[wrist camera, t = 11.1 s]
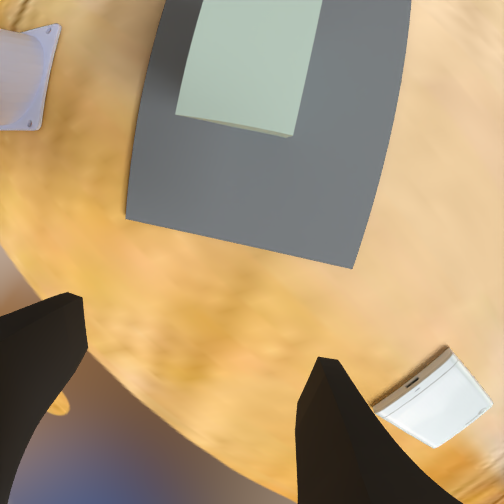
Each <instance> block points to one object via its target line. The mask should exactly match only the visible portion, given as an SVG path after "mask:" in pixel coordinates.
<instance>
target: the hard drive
mask: <svg viewBox="0 0 504 504" xmlns="http://www.w3.org/2000/svg"><path fill="white" fill-rule="evenodd" d="M492 405H493V401H492V400H491V398H490V397H489V395H488V394H487V393H486V391H485V390H484V389H483V387H482V386H481V385H480V384H479V382H478V381H477V380H476V379H475V377H474V376H473V375H472V374H471V372H470V371H469V370H468V369H467V368H466V366H465V365H464V364H463V363H462V362H461V360H460V359H459V358H458V357H457V356H456V355H455V353H454V352H453V351H452V350H451V349H450V348H448V349H447V350H445V351H444V352H443V353H442V354H441V355H440V356H439V357H437V358H436V359H435V360H434V361H433V362H432V363H430V364H429V365H428V366H427V367H425V368H424V369H423V370H422V371H421V372H419V373H418V374H417V375H416V376H414V377H413V378H412V379H410V380H409V381H408V382H406V383H405V384H404V385H403V386H401V387H400V388H399V389H397V390H396V391H394V392H393V393H392V394H390V395H389V396H388V397H386V398H385V399H383V400H382V401H380V402H379V403H377V404H376V405H374V406H373V410H374V413H375V414H377V415H378V416H380V417H382V418H383V419H385V420H386V421H388V422H390V423H391V424H393V425H395V426H396V427H398V428H399V429H401V430H403V431H404V432H406V433H408V434H409V435H411V436H413V437H414V438H416V439H418V440H420V441H421V442H423V443H425V444H426V445H428V446H430V447H432V448H437V447H439V446H440V445H442V444H443V443H445V442H446V441H448V440H449V439H451V438H452V437H453V436H455V435H456V434H458V433H459V432H460V431H462V430H463V429H464V428H466V427H467V426H468V425H470V424H471V423H472V422H474V421H475V420H476V419H477V418H479V417H480V416H481V415H482V414H484V413H485V412H486V411H487V410H488V409H489V408H491V406H492Z"/></svg>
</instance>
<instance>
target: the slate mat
mask: <svg viewBox="0 0 504 504" xmlns="http://www.w3.org/2000/svg"><path fill="white" fill-rule="evenodd" d="M202 3H203V0H166V3H165V6H164V9H163V13H162V16H161V19H160V23H159V26H158V30H157V33H156V37H155V41H154V44H153V48H152V52H151V56H150V60H149V65H148V69H147V73H146V78H145V83H144V87H143V92H142V97H141V102H140V108H139V113H138V119H137V125H136V131H135V138H134V144H133V152H132V159H131V167H130V176H129V185H128V195H127V207H126V219H129V220H133V221H138V222H142V223H147V224H152V225H156V226H161V227H165V228H170V229H174V230H179V231H183V232H188V233H193V234H197V235H202V236H206V237H211V238H215V239H220V240H224V241H229V242H233V243H238V244H242V245H247V246H251V247H256V248H260V249H265V250H269V251H274V252H278V253H283V254H287V255H292V256H296V257H301V258H305V259H309V260H314V261H318V262H323V263H327V264H332V265H336V266H340V267H345V268H349V269H353V266H354V263H355V260H356V257H357V254H358V251H359V248H360V245H361V241H362V238H363V235H364V232H365V229H366V225H367V222H368V219H369V215H370V212H371V209H372V205H373V202H374V198H375V195H376V191H377V187H378V184H379V180H380V176H381V172H382V168H383V164H384V160H385V156H386V152H387V148H388V144H389V139H390V135H391V130H392V126H393V121H394V116H395V111H396V106H397V101H398V96H399V90H400V85H401V79H402V73H403V67H404V60H405V53H406V46H407V38H408V30H409V21H410V10H411V0H322V5H321V10H320V14H319V19H318V24H317V29H316V33H315V38H314V43H313V47H312V52H311V57H310V61H309V66H308V71H307V75H306V80H305V84H304V89H303V93H302V98H301V102H300V107H299V111H298V116H297V120H296V125H295V129H294V133H293V136H291V137H288V138H284V137H279V136H275V135H270V134H265V133H261V132H256V131H251V130H246V129H240V128H235V127H230V126H226V125H221V124H217V123H213V122H208V121H204V120H199V119H195V118H190V117H185V116H180V115H175V113H176V108H177V103H178V98H179V93H180V88H181V84H182V79H183V75H184V71H185V66H186V62H187V58H188V54H189V50H190V46H191V42H192V39H193V35H194V31H195V28H196V24H197V20H198V17H199V14H200V10H201V7H202Z"/></svg>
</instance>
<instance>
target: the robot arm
mask: <svg viewBox="0 0 504 504" xmlns="http://www.w3.org/2000/svg"><path fill="white" fill-rule="evenodd" d="M50 30H51V31H50ZM49 32H50V33H49ZM60 32H61V25H59V24H52V25H48V26H43V27H39V28H36V29H32V30H28V31H25V32H21V33H18V32H13V31H9V30H4V29H0V130H31V131H34V130H39V129H40V127H41V124H42V117H43V110H44V104H45V97H46V92H47V86H48V81H49V76H50V71H51V67H52V62H53V58H54V54H55V50H56V46H57V42H58V39H59V35H60ZM31 121H32V125H31ZM87 349H88V343H87V336H86V328H85V319H84V309H83V298H82V297H80V296H77V295H74V294H71V293H69V292H66V293H63V294H59V295H56V296H53V297H51V298H48V299H45V300H43V301H40V302H38V303H35V304H32V305H30V306H27V307H25V308H22V309H19V310H17V311H14V312H12V313H9V314H6V315H4V316H1V317H0V504H7V503H8V499H9V495H10V491H11V487H12V484H13V481H14V478H15V474H16V472H17V469H18V466H19V464H20V461H21V458H22V456H23V454H24V451H25V449H26V447H27V445H28V443H29V441H30V439H31V436H32V435H33V432H34V430H35V429H36V427H37V425H38V424H39V422H40V420H41V419H42V417H43V416H44V414H45V413H46V411H47V410H48V409H49V407H50V406H51V404H52V403H53V402H54V400H55V399H56V398H57V396H58V395H59V393H60V392H61V391H62V389H63V388H64V386H65V385H66V384H67V382H68V381H69V380H70V378H71V377H72V375H73V374H74V373H75V371H76V369H77V367H78V366H79V364H80V362H81V360H82V358H83V357H84V355H85V353H86V351H87ZM295 440H296V462H297V484H298V504H463V503H461V502H460V501H458V500H457V499H456V498H454V497H453V496H452V495H450V494H449V493H448V492H446V491H445V490H444V489H443V488H441V487H440V486H439V485H438V484H437V483H436V482H434V481H433V480H432V479H431V478H430V477H429V476H427V475H426V474H425V473H424V472H423V471H422V470H421V469H420V468H419V467H418V466H417V465H416V464H415V463H414V462H413V461H412V460H411V458H410V457H409V456H408V455H407V454H406V453H405V452H404V451H403V450H402V449H401V448H400V446H399V445H398V444H397V443H396V442H395V441H394V439H393V438H392V437H391V435H390V434H389V433H388V432H387V430H386V429H385V428H384V427H383V425H382V424H381V423H380V421H379V420H378V419H377V417H376V416H375V414H374V413H373V412H372V410H371V409H370V407H369V406H368V404H367V403H366V402H365V400H364V399H363V397H362V396H361V394H360V393H359V391H358V390H357V388H356V386H355V385H354V383H353V382H352V380H351V379H350V377H349V376H348V374H347V373H346V371H345V369H344V368H343V366H342V365H341V363H340V362H339V361H338V360H336V359H329V358H323V357H318V358H317V360H316V363H315V365H314V367H313V370H312V372H311V374H310V376H309V379H308V381H307V383H306V385H305V387H304V390H303V392H302V394H301V396H300V398H299V400H298V403H297V414H296V427H295Z"/></svg>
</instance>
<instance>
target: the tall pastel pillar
mask: <svg viewBox="0 0 504 504" xmlns="http://www.w3.org/2000/svg"><path fill="white" fill-rule="evenodd" d="M321 5H322V0H203V3H202V7H201V10H200V14H199V17H198V20H197V24H196V28H195V31H194V35H193V39H192V42H191V46H190V50H189V54H188V58H187V62H186V66H185V71H184V75H183V79H182V84H181V88H180V93H179V98H178V103H177V108H176V113H175V115H180V116H185V117H190V118H195V119H199V120H204V121H208V122H213V123H217V124H221V125H226V126H230V127H235V128H240V129H246V130H251V131H256V132H261V133H265V134H270V135H275V136H279V137H284V138H288V137H291V136H293V133H294V129H295V125H296V120H297V116H298V111H299V107H300V102H301V98H302V93H303V89H304V84H305V80H306V75H307V71H308V66H309V61H310V57H311V52H312V47H313V43H314V38H315V33H316V29H317V24H318V19H319V14H320V10H321Z"/></svg>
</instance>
